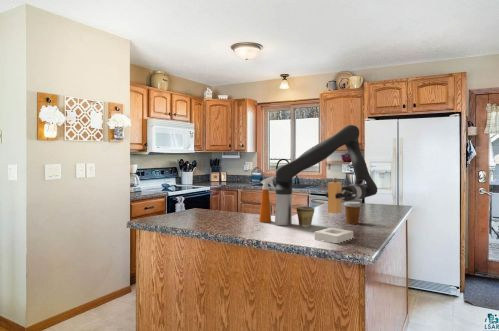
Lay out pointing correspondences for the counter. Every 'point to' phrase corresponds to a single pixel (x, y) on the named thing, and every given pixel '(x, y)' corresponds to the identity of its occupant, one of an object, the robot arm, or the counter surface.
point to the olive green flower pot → (305, 215)
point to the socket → (334, 235)
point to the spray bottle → (266, 200)
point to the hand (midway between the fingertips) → (331, 195)
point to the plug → (334, 203)
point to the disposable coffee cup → (352, 211)
